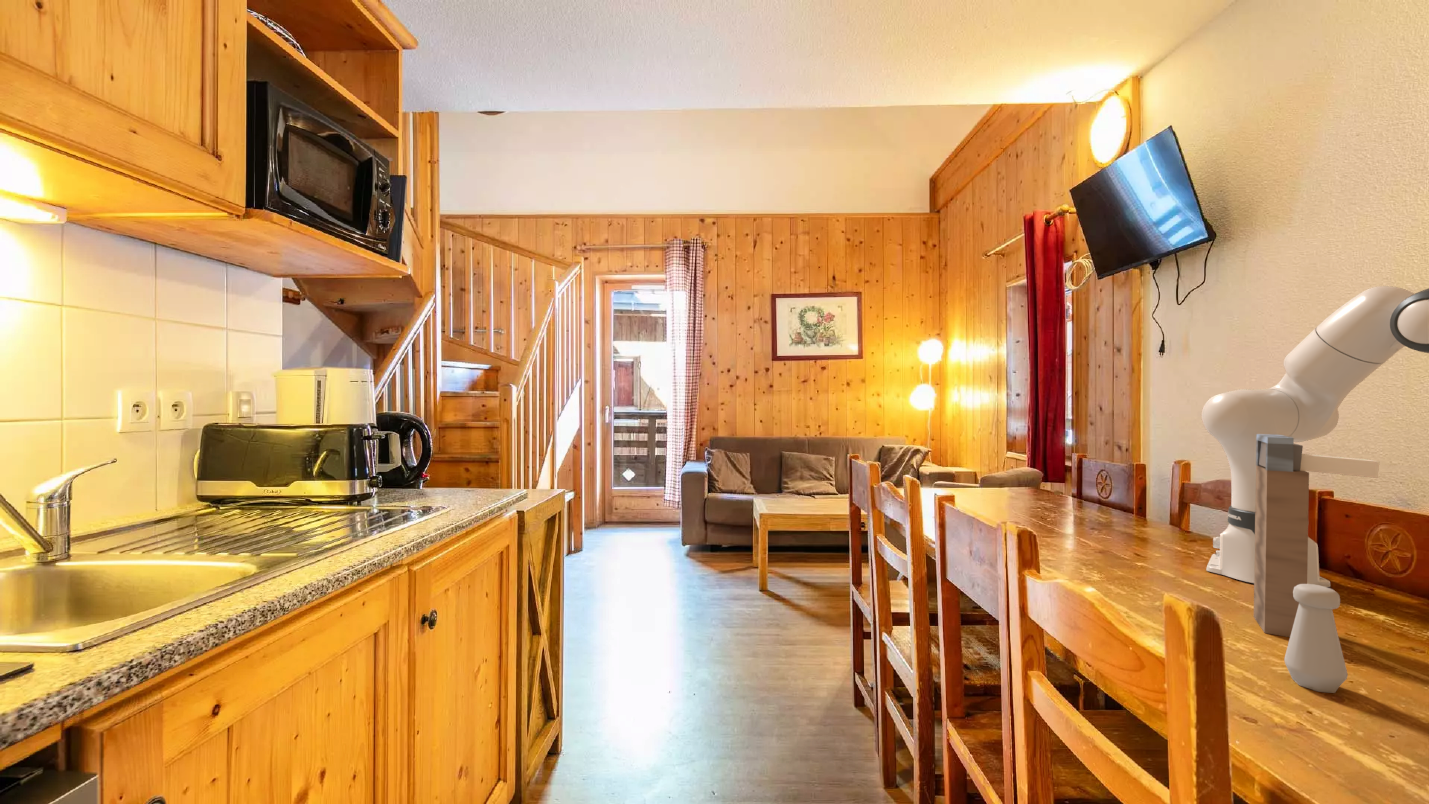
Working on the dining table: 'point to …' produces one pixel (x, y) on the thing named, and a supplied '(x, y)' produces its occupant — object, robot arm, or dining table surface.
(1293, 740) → the dining table surface
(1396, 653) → the dining table surface
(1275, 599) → the post
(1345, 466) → the cream bar
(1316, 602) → the salt shaker
